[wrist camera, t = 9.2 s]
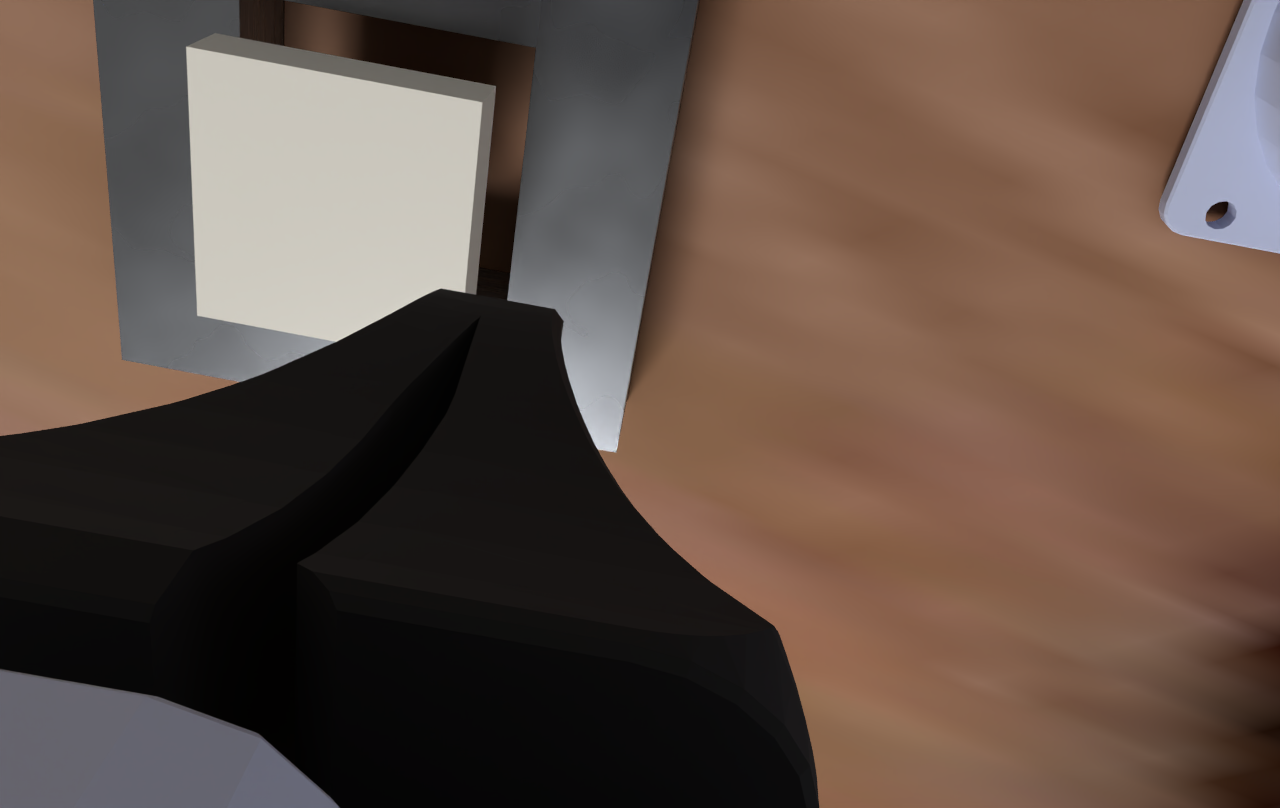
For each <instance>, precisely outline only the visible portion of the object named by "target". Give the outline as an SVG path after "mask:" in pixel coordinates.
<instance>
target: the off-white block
mask: <svg viewBox="0 0 1280 808" xmlns="http://www.w3.org/2000/svg"><path fill="white" fill-rule="evenodd" d="M186 55H187V79H188V104H189V128H190V152H191V177H192V201H193V225H194V250H195V274H196V298H197V316H202V317H207V318H212V319H217V320H223V321H228V322H233V323H239V324H244V325H249V326H255V327H260V328H265V329H271V330H276V331H281V332H287V333H292V334H297V335H303V336H308V337H313V338H319V339H324V340H329V341H335V342H337V341H339V340H341V339H343V338H345V337H347V336H349V335H351V334H352V333H354V332H356V331H358V330H360V329H362V328H364V327H366V326H368V325H370V324H372V323H374V322H376V321H378V320H380V319H381V318H383V317H385V316H387V315H389V314H391V313H393V312H395V311H396V310H398V309H400V308H402V307H404V306H406V305H408V304H409V303H411V302H413V301H415V300H417V299H419V298H421V297H423V296H425V295H427V294H429V293H431V292H433V291H435V290H438V289H441V288H442V289H447V290H453V291H458V292H464V293H469V294H475V295H476V289H477V279H478V269H479V258H480V248H481V238H482V228H483V217H484V207H485V197H486V187H487V176H488V166H489V156H490V146H491V135H492V125H493V115H494V105H495V94H496V86H493V85H488V84H483V83H477V82H472V81H467V80H461V79H456V78H451V77H445V76H440V75H435V74H429V73H424V72H419V71H414V70H408V69H403V68H398V67H392V66H387V65H382V64H376V63H371V62H366V61H360V60H355V59H350V58H345V57H339V56H334V55H329V54H323V53H318V52H313V51H307V50H302V49H297V48H292V47H286V46H281V45H276V44H270V43H265V42H260V41H254V40H249V39H244V38H238V37H233V36H228V35H223V34H217V33H214V34H212V35H210V36H208V37H206V38H203V39H201V40H199V41H197V42H195V43H193V44H191V45H188V46H186Z"/></svg>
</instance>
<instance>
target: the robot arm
mask: <svg viewBox="0 0 1280 808" xmlns="http://www.w3.org/2000/svg"><path fill="white" fill-rule="evenodd" d="M1225 201H1227V202H1228V203H1229V204H1228V210H1227V212H1226V213H1225V215H1224V216H1223V217H1222V218H1220V219H1218V220H1216V221H1212V222H1206V221H1205V218H1206V212H1207V211H1208V210H1209V209H1210V207H1211V206H1212V205H1214V204H1216V203H1218V202H1225ZM1159 213H1160V217H1161V219H1162V220H1163V221H1164V223H1165V224H1166V225H1167V226H1168V227H1169V228H1170V229H1171V230H1172V231H1173V232H1176V233H1178V234H1181V235H1184V236H1190V237H1195V238H1200V239H1206V240H1211V241H1216V242H1222V243H1227V244H1232V245H1237V246H1243V247H1248V248H1253V249H1259V250H1264V251H1269V252H1275V253H1280V0H1243V3H1242V5H1241V8H1240V10H1239V12H1238V15H1237V17H1236V20H1235V22H1234V24H1233V27H1232V29H1231V31H1230V34H1229V36H1228V39H1227V41H1226V43H1225V46H1224V48H1223V51H1222V53H1221V55H1220V58H1219V60H1218V63H1217V65H1216V67H1215V70H1214V72H1213V75H1212V77H1211V79H1210V82H1209V84H1208V87H1207V89H1206V91H1205V94H1204V96H1203V99H1202V101H1201V103H1200V106H1199V108H1198V111H1197V113H1196V115H1195V118H1194V120H1193V123H1192V125H1191V127H1190V130H1189V132H1188V135H1187V137H1186V139H1185V142H1184V144H1183V146H1182V149H1181V151H1180V154H1179V156H1178V158H1177V161H1176V163H1175V166H1174V168H1173V170H1172V173H1171V175H1170V178H1169V180H1168V182H1167V185H1166V187H1165V190H1164V192H1163V194H1162V197H1161V199H1160V204H1159ZM563 324H564V321H563V319H562V318H561V317H560V315H559V314H558V312H557V311H556V310H555V309H552V308H547V307H541V306H536V305H530V304H525V303H519V302H514V301H508V300H503V299H497V298H491V297H486V296H480V295H475V294H469V293H464V292H458V291H453V290H447V289H442V288H441V289H438V290H435V291H433V292H431V293H429V294H427V295H425V296H423V297H421V298H419V299H417V300H415V301H413V302H411V303H409V304H408V305H406V306H404V307H402V308H400V309H398V310H396V311H395V312H393V313H391V314H389V315H387V316H385V317H383V318H381V319H380V320H378V321H376V322H374V323H372V324H370V325H368V326H366V327H364V328H362V329H360V330H358V331H356V332H354V333H352V334H351V335H349V336H347V337H345V338H343V339H341V340H339V341H337V342H335V343H332V344H330V345H328V346H326V347H323V348H321V349H319V350H316V351H314V352H312V353H310V354H307V355H305V356H303V357H301V358H298V359H296V360H294V361H292V362H289V363H287V364H285V365H283V366H280V367H278V368H276V369H274V370H271V371H269V372H266V373H264V374H261V375H258V376H256V377H253V378H250V379H248V380H245V381H242V382H239V383H236V384H234V385H231V386H228V387H224V388H221V389H218V390H215V391H212V392H208V393H205V394H202V395H199V396H196V397H192V398H189V399H186V400H182V401H179V402H175V403H171V404H168V405H163V406H159V407H154V408H150V409H145V410H141V411H136V412H132V413H128V414H123V415H119V416H114V417H110V418H105V419H101V420H96V421H92V422H88V423H83V424H78V425H72V426H66V427H60V428H54V429H47V430H41V431H34V432H28V433H22V434H14V435H6V436H0V808H819V801H818V788H817V776H816V769H815V763H814V756H813V751H812V746H811V742H810V738H809V733H808V729H807V725H806V720H805V716H804V713H803V709H802V705H801V701H800V698H799V694H798V690H797V686H796V683H795V680H794V677H793V674H792V671H791V668H790V665H789V662H788V658H787V655H786V652H785V649H784V647H783V644H782V641H781V638H780V635H779V633H778V631H777V630H776V628H775V627H774V626H773V625H772V624H771V623H769V622H768V621H766V620H765V619H763V618H762V617H760V616H759V615H758V614H756V613H755V612H753V611H752V610H750V609H749V608H747V607H746V606H745V605H743V604H742V603H740V602H739V601H737V600H736V599H734V598H733V597H732V596H730V595H729V594H727V593H726V592H724V591H723V590H721V589H720V588H719V587H717V586H716V585H714V584H713V583H711V582H710V581H709V580H708V579H706V578H705V577H704V576H703V575H701V574H700V573H699V572H698V571H697V570H696V569H695V568H694V567H692V566H691V565H690V564H689V563H688V562H687V561H686V560H684V559H683V558H682V557H681V556H680V555H679V554H678V553H676V552H675V551H674V550H673V549H672V548H671V547H670V546H669V545H668V544H667V543H666V542H665V541H664V540H663V539H662V538H661V537H660V536H659V535H658V534H657V533H656V532H655V531H654V529H653V528H652V527H651V526H650V525H649V524H648V523H647V521H646V520H645V519H644V518H643V517H642V516H641V515H640V513H639V512H638V511H637V510H636V509H635V508H634V506H633V505H632V504H631V502H630V501H629V500H628V498H627V497H626V495H625V494H624V493H623V491H622V490H621V488H620V487H619V485H618V484H617V482H616V480H615V479H614V477H613V476H612V474H611V473H610V471H609V469H608V468H607V466H606V464H605V462H604V461H603V459H602V457H601V455H600V453H599V451H598V450H597V448H596V446H595V444H594V442H593V440H592V437H591V435H590V433H589V431H588V429H587V426H586V424H585V422H584V420H583V417H582V415H581V412H580V410H579V407H578V405H577V402H576V399H575V396H574V393H573V390H572V387H571V383H570V380H569V377H568V374H567V370H566V366H565V362H564V356H563V351H562V344H561V337H562V330H563Z"/></svg>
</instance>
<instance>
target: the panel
mask: <svg viewBox="0 0 1280 808" xmlns="http://www.w3.org/2000/svg"><path fill="white" fill-rule="evenodd" d="M286 1H291V2H296V3H302V4H307V5H312V6H317V7H323V8H328V9H333V10H339V11H344V12H349V13H355V14H360V15H365V16H370V17H376V18H381V19H386V20H392V21H397V22H402V23H408V24H413V25H418V26H423V27H429V28H434V29H439V30H445V31H450V32H455V33H461V34H466V35H471V36H476V37H482V38H487V39H492V40H498V41H503V42H508V43H514V44H519V45H524V46H530V47H535V48H536V53H535V61H534V70H533V79H532V88H531V97H530V106H529V114H528V123H527V132H526V141H525V150H524V158H523V167H522V176H521V185H520V194H519V202H518V211H517V220H516V229H515V238H514V247H513V255H512V264H511V273H506V272H500V271H495V270H490V269H484V268H479V269H478V279H477V289H476V295H480V296H486V297H491V298H497V299H503V300H508V301H514V302H519V303H525V304H530V305H536V306H541V307H547V308H552V309H555V310H556V311H557V312H558V314H559V315H560V317H561V318H562V319H563V321H564V324H563V330H562V337H561V344H562V351H563V356H564V362H565V366H566V370H567V374H568V377H569V380H570V383H571V387H572V390H573V393H574V396H575V399H576V402H577V405H578V407H579V410H580V412H581V415H582V417H583V420H584V422H585V424H586V426H587V429H588V431H589V433H590V435H591V437H592V440H593V442H594V444H595V446H596V448H597V449H600V450H605V451H611V452H616V451H617V446H618V441H619V436H620V432H621V427H622V422H623V417H624V412H625V407H626V402H627V397H628V391H629V386H630V380H631V375H632V369H633V364H634V358H635V353H636V347H637V342H638V336H639V331H640V325H641V320H642V314H643V309H644V303H645V298H646V292H647V287H648V281H649V276H650V270H651V265H652V259H653V254H654V248H655V243H656V237H657V232H658V226H659V221H660V215H661V210H662V204H663V199H664V193H665V188H666V182H667V177H668V171H669V166H670V160H671V155H672V149H673V144H674V138H675V133H676V127H677V122H678V116H679V111H680V105H681V100H682V94H683V89H684V83H685V78H686V73H687V67H688V62H689V56H690V51H691V45H692V40H693V34H694V29H695V23H696V18H697V12H698V7H699V1H700V0H286ZM93 4H94V16H95V29H96V41H97V53H98V66H99V78H100V91H101V103H102V116H103V128H104V140H105V153H106V165H107V178H108V190H109V202H110V215H111V227H112V240H113V252H114V265H115V277H116V289H117V302H118V314H119V327H120V339H121V351H122V360H126V361H132V362H137V363H142V364H148V365H153V366H158V367H164V368H169V369H174V370H180V371H185V372H190V373H196V374H201V375H206V376H212V377H217V378H222V379H227V380H233V381H238V382H242V381H245V380H248V379H250V378H253V377H256V376H258V375H261V374H264V373H266V372H269V371H271V370H274V369H276V368H278V367H280V366H283V365H285V364H287V363H289V362H292V361H294V360H296V359H298V358H301V357H303V356H305V355H307V354H310V353H312V352H314V351H316V350H319V349H321V348H323V347H326V346H328V345H330V344H332V343H335V341H329V340H324V339H319V338H313V337H308V336H303V335H297V334H292V333H287V332H281V331H276V330H271V329H265V328H260V327H255V326H249V325H244V324H239V323H233V322H228V321H223V320H217V319H212V318H207V317H202V316H197V298H196V274H195V250H194V225H193V201H192V177H191V152H190V128H189V104H188V79H187V55H186V46H188V45H191V44H193V43H195V42H197V41H199V40H201V39H203V38H206V37H208V36H210V35H212V34H214V33H217V34H223V35H228V36H233V37H238V38H244V39H249V40H254V41H260V42H265V43H270V44H276V45H281V46H283V33H284V0H93Z"/></svg>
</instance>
